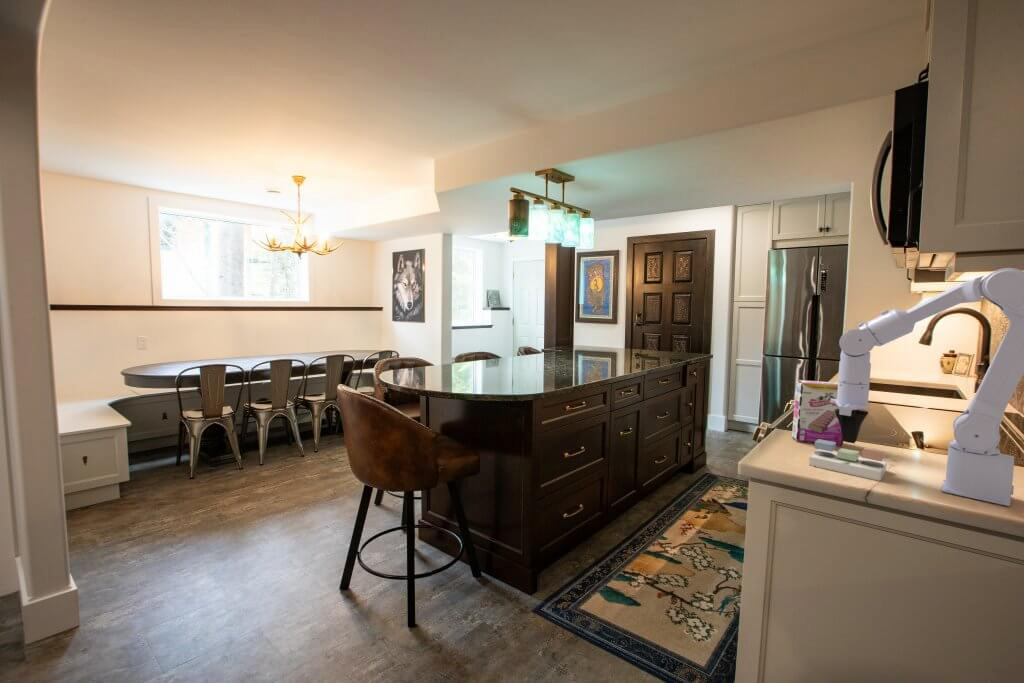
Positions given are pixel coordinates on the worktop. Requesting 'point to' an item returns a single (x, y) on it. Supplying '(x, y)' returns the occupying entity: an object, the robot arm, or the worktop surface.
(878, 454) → the terracotta button
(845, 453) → the sage button
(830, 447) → the slate button
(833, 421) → the candy bar box
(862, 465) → the console
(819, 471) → the worktop surface
